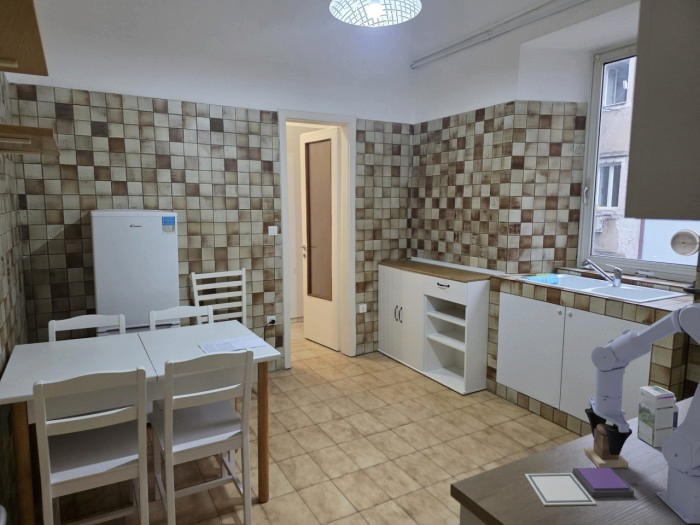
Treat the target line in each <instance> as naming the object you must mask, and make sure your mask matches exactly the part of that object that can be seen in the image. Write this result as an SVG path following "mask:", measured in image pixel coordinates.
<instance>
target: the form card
mask: <svg viewBox="0 0 700 525" xmlns="http://www.w3.org/2000/svg"><path fill="white" fill-rule="evenodd" d="M524 477H525V478H526V480H527V481H528V483H529V484H530V485H531V487H532V489H533V490H534V492H535V494H536V495H537V497H538V498H539V500H540V501H541V503H542V504H543V506H582V505H583V506H585V505H586V506H590V505H591V506H592V505H595V506H596V505H597V502H596V501H595V500H594V499H593V497H592V496H591V495H590V494H589V492H588V491H587V490H586V489H585V488H584V486H583V485H582V484H581V483H580V481H579V480H578V479H577V478H576V477H575V475H574V474H573V472H563V473H561V472H559V473H555V472H554V473H524Z"/></svg>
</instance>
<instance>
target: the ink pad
mask: <svg viewBox="0 0 700 525" xmlns="http://www.w3.org/2000/svg"><path fill="white" fill-rule="evenodd" d="M572 474H573V476H574V477H575V478H576V479H577V480H578V482H579V483H580V484H581V485H582V487H583V488H584V489H585V490H586V492H587V493H588V494H589V495H590V496H591V498H609V497H610V498H613V497H614V498H617V497H622V498H623V497H635V491H634V490H633V488H632V487H631V486H629V485H628V483H627V482H625V480H624V479H623V478H622V477H621V476H620V475H619V474H618V473H617V472H616V471H615V469H614V468H598V467H575V468H574V467H573V468H572Z"/></svg>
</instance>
